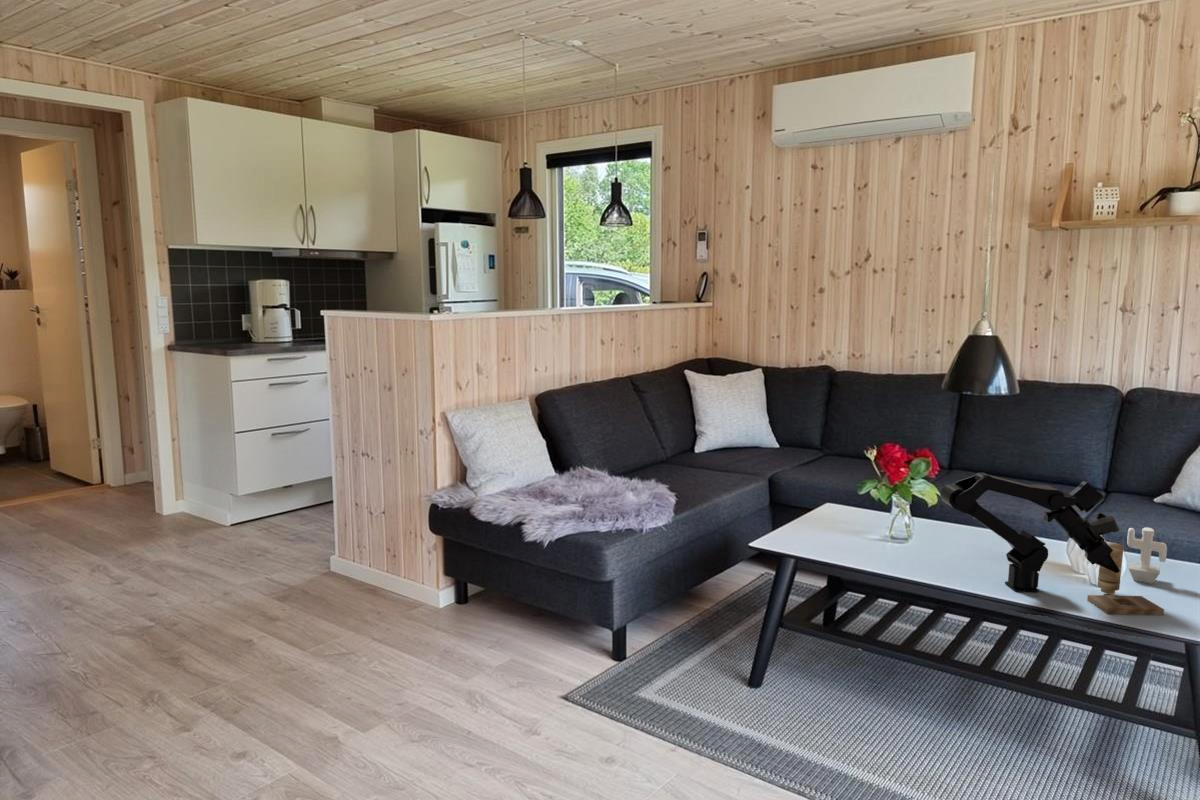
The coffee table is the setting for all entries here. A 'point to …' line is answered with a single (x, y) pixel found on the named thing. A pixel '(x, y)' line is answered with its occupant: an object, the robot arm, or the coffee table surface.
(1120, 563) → the oak peg
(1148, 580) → the figurine
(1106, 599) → the walnut board
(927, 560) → the coffee table surface
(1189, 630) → the coffee table surface
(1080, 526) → the robot arm
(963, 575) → the coffee table surface
